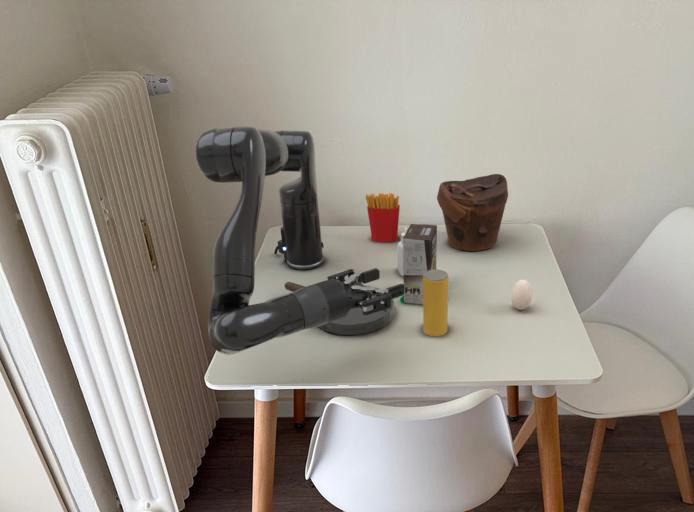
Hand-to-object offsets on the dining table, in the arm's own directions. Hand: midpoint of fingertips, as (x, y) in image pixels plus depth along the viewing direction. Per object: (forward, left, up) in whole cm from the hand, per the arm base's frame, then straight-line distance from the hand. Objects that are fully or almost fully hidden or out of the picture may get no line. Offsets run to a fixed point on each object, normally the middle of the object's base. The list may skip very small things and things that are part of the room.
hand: (390, 280), depth 128 cm
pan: (-15, +6, -15) cm, 22 cm away
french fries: (-33, +45, -15) cm, 58 cm away
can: (+4, +10, -15) cm, 19 cm away
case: (-11, +55, -15) cm, 59 cm away
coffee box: (-7, +22, -15) cm, 28 cm away
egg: (+16, +28, -15) cm, 36 cm away
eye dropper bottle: (-16, +30, -15) cm, 38 cm away
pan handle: (-29, +6, -14) cm, 33 cm away
